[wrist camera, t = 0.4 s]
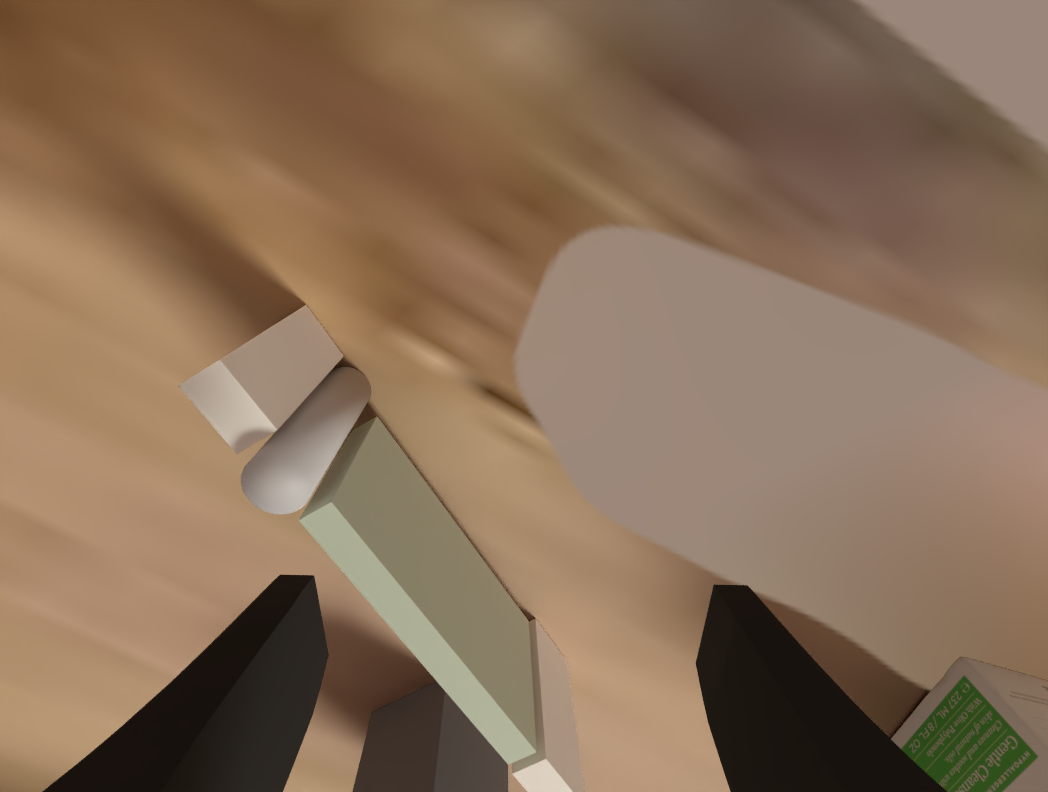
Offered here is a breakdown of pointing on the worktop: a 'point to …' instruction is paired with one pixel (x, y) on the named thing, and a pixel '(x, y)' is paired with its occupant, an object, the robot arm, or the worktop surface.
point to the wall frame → (302, 459)
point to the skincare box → (981, 730)
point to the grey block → (428, 749)
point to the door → (428, 584)
